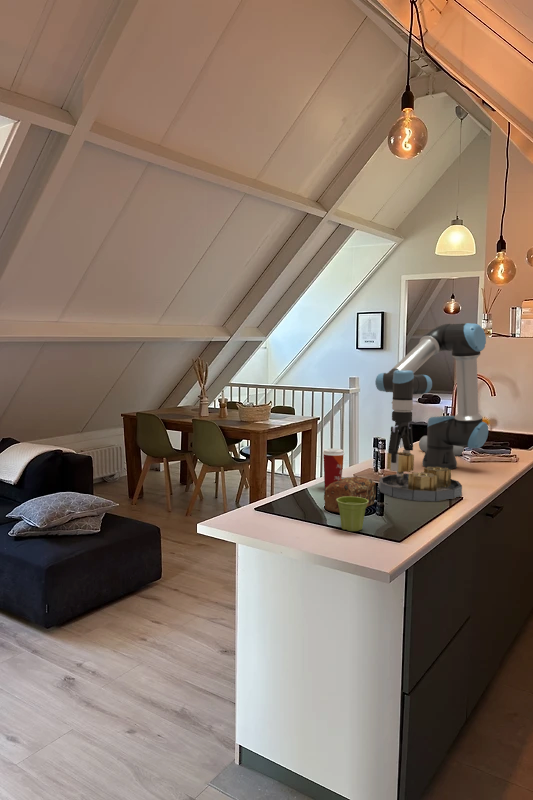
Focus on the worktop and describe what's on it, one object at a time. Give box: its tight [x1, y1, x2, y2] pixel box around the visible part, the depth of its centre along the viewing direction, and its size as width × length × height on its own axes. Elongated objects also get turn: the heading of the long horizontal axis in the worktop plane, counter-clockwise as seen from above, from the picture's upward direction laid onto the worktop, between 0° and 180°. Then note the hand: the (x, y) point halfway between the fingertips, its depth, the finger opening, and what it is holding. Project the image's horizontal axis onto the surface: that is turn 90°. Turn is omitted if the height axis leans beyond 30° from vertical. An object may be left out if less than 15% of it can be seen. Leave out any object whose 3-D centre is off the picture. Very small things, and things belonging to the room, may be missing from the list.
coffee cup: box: [322, 448, 345, 490], centre depth 232 cm, size 8×8×15 cm
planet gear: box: [386, 451, 415, 473], centre depth 234 cm, size 10×10×6 cm
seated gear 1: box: [408, 471, 437, 491], centre depth 222 cm, size 10×10×6 cm
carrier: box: [378, 472, 463, 502], centre depth 230 cm, size 29×29×8 cm
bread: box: [323, 476, 377, 514], centre depth 206 cm, size 19×11×10 cm, turn 143°
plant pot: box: [336, 497, 369, 532], centre depth 181 cm, size 9×9×9 cm
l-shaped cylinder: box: [418, 435, 465, 457], centre depth 312 cm, size 18×11×20 cm
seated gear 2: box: [423, 466, 452, 487], centre depth 233 cm, size 10×10×6 cm
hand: (400, 468), depth 234 cm, fingers closed on planet gear, 10 cm apart
